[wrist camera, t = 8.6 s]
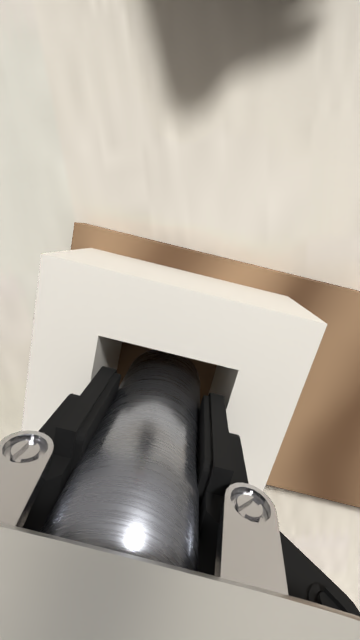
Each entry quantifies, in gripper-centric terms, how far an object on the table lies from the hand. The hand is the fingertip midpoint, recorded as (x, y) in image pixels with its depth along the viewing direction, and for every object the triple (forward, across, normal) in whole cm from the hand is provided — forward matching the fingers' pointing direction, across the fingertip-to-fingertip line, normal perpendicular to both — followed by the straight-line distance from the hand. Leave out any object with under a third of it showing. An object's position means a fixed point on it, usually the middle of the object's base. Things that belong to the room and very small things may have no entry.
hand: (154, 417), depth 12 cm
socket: (+5, 0, 0) cm, 5 cm away
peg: (+3, 0, 0) cm, 3 cm away
